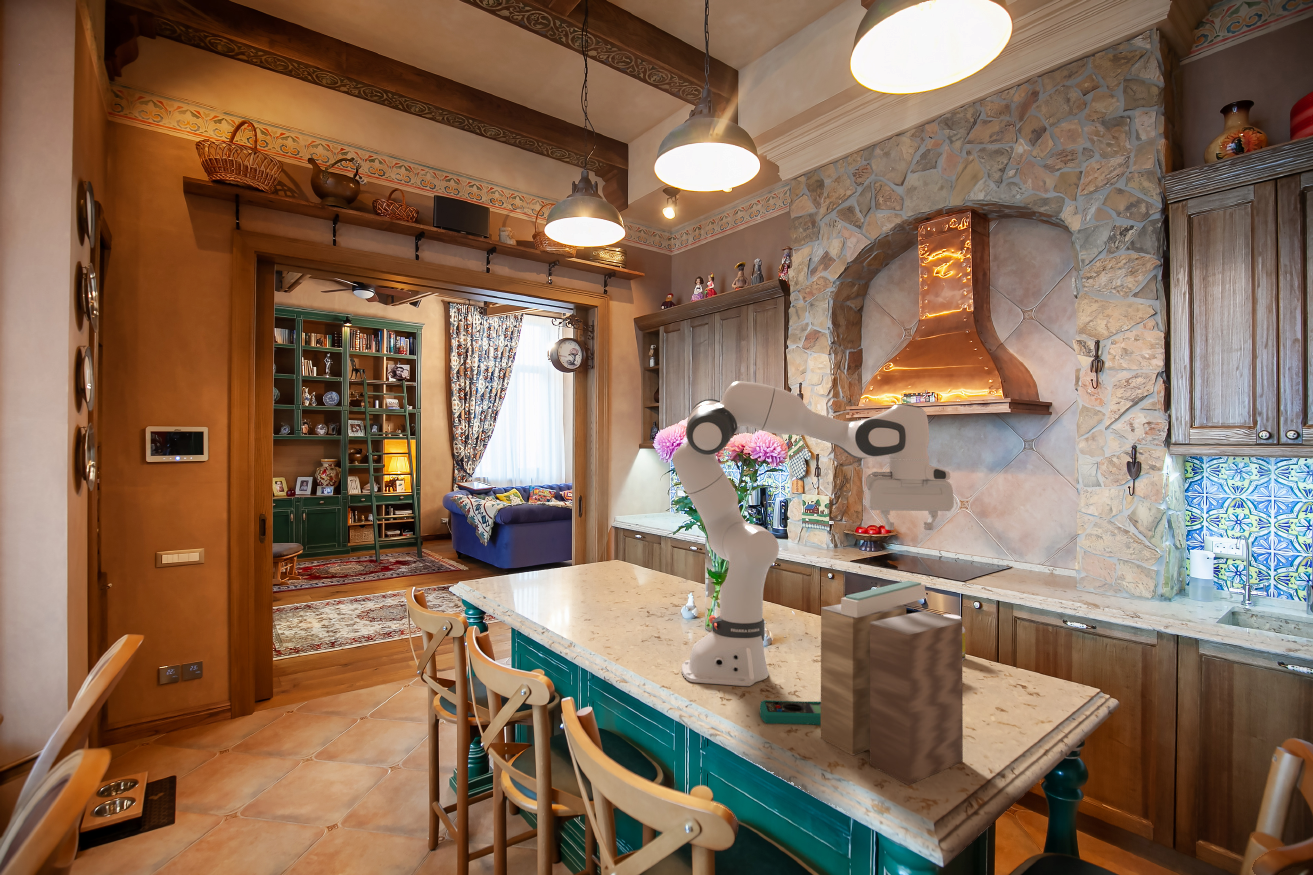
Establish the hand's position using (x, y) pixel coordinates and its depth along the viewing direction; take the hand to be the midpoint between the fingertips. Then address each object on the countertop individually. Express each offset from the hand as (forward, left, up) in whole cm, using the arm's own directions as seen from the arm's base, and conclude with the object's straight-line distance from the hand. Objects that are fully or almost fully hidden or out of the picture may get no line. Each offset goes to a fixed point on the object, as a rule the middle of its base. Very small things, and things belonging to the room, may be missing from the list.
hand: (909, 529), depth 145 cm
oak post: (-19, -22, -39) cm, 49 cm away
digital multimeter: (-30, -12, -40) cm, 52 cm away
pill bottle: (+24, +26, -39) cm, 53 cm away
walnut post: (-13, -32, -39) cm, 52 cm away
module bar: (-14, -20, -13) cm, 28 cm away
